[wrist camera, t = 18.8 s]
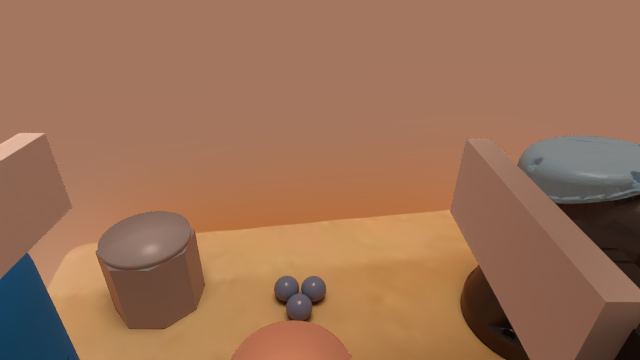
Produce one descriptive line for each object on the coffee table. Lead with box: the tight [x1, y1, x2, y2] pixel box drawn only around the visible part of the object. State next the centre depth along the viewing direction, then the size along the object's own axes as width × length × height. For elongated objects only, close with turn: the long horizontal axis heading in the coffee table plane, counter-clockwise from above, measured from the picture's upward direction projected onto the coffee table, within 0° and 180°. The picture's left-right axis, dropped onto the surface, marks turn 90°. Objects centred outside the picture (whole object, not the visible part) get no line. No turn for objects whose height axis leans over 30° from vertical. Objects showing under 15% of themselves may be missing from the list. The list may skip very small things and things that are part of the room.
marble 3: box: [301, 276, 326, 302], centre depth 49 cm, size 3×3×3 cm
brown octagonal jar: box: [96, 211, 205, 329], centre depth 47 cm, size 10×10×10 cm
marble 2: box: [286, 293, 312, 321], centre depth 46 cm, size 3×3×3 cm
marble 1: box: [274, 276, 299, 302], centre depth 49 cm, size 3×3×3 cm
